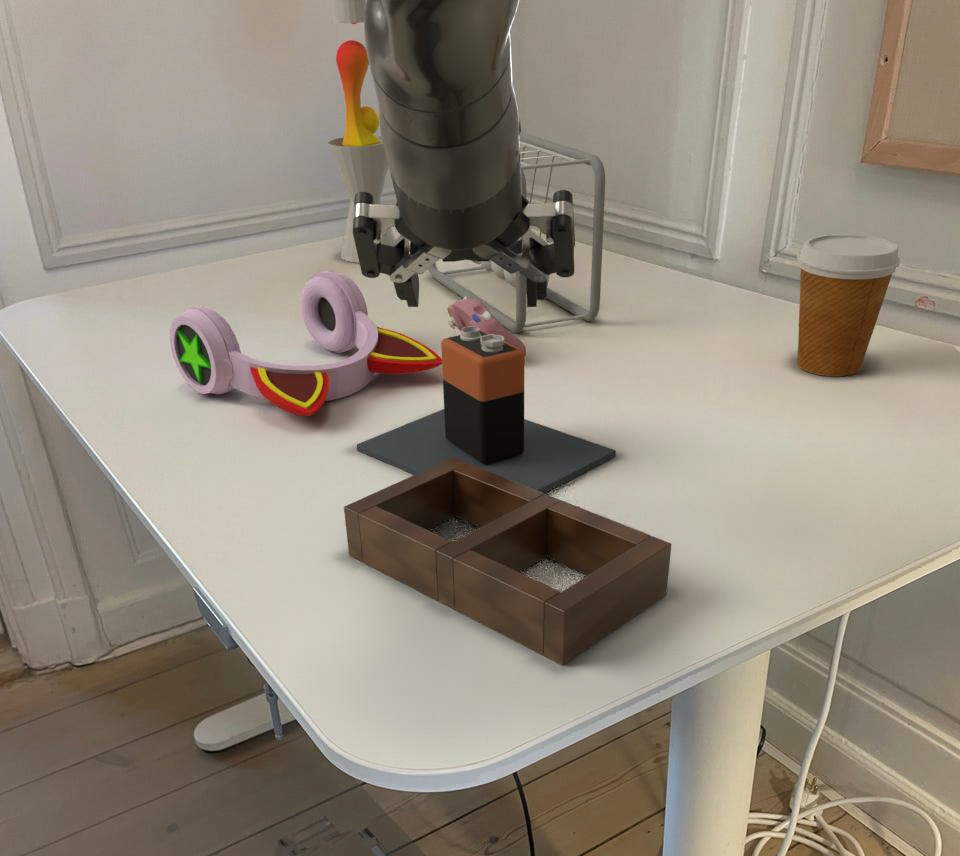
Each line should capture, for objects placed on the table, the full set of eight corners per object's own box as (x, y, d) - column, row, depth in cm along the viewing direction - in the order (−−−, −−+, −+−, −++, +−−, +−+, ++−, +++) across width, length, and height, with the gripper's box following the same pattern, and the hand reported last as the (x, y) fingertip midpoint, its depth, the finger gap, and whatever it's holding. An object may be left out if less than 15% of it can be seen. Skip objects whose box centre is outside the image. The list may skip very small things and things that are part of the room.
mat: (615, 456, 86) (616, 450, 86) (506, 513, 78) (506, 506, 78) (467, 405, 96) (467, 399, 96) (356, 450, 88) (356, 444, 88)
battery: (483, 467, 83) (480, 349, 78) (443, 440, 88) (437, 327, 83) (526, 455, 85) (527, 339, 80) (485, 428, 90) (482, 317, 84)
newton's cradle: (425, 274, 135) (418, 129, 125) (496, 265, 138) (494, 122, 128) (518, 338, 112) (518, 166, 102) (600, 325, 116) (608, 157, 105)
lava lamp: (375, 266, 139) (351, -36, 119) (326, 258, 144) (294, -35, 124) (414, 251, 146) (397, -38, 126) (365, 244, 150) (341, -37, 130)
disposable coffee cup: (776, 349, 107) (794, 232, 101) (868, 351, 106) (892, 233, 99) (786, 381, 100) (806, 256, 93) (885, 383, 99) (912, 257, 92)
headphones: (313, 266, 110) (441, 272, 97) (330, 356, 114) (453, 373, 102) (157, 308, 98) (280, 322, 85) (183, 406, 103) (303, 433, 90)
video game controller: (462, 354, 113) (433, 302, 108) (494, 330, 113) (467, 277, 109) (497, 382, 106) (468, 327, 101) (532, 357, 106) (505, 301, 101)
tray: (667, 594, 68) (672, 543, 65) (562, 666, 61) (564, 611, 59) (454, 503, 79) (452, 457, 77) (348, 555, 73) (343, 506, 71)
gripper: (323, 208, 56) (372, 344, 72) (579, 205, 55) (571, 344, 71) (331, 88, 57) (378, 248, 73) (581, 84, 56) (573, 247, 72)
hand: (473, 295), depth 72 cm, fingers open, 8 cm apart
